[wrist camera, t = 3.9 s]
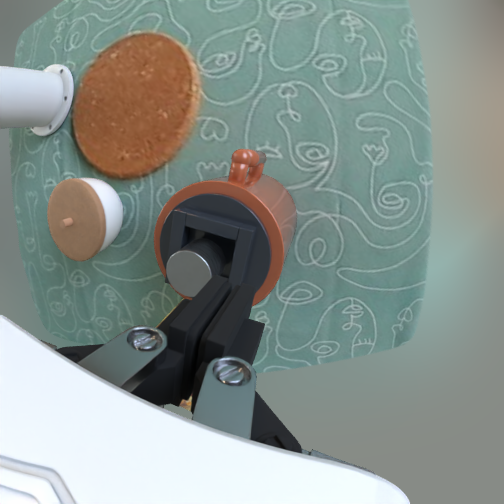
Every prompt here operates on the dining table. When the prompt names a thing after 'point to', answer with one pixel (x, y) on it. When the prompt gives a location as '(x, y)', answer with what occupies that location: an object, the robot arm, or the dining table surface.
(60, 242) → the trinket box
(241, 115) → the dining table surface
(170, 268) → the jug button
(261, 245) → the jug
